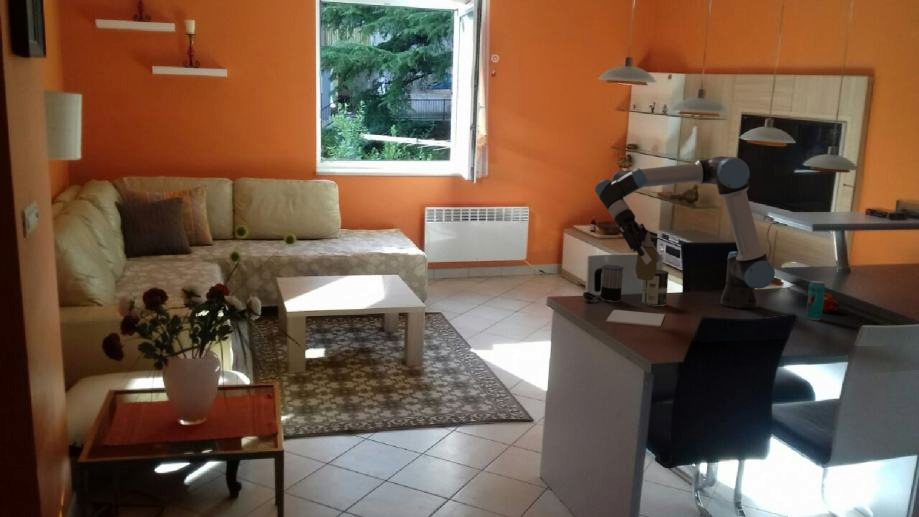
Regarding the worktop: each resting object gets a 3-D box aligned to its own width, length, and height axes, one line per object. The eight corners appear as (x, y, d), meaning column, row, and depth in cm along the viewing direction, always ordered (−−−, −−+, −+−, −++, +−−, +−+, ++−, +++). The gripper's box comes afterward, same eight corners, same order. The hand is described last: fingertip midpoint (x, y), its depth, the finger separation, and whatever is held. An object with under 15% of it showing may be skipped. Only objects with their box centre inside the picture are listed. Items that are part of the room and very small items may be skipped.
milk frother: (625, 300, 347) (627, 266, 345) (610, 306, 335) (611, 271, 332) (595, 296, 355) (596, 262, 353) (578, 301, 342) (580, 267, 340)
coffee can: (663, 302, 346) (665, 269, 344) (669, 307, 336) (671, 273, 334) (639, 301, 346) (641, 268, 344) (644, 306, 336) (646, 273, 334)
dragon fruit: (814, 311, 342) (835, 321, 331) (803, 300, 338) (824, 311, 327) (826, 295, 341) (848, 305, 331) (816, 284, 338) (837, 294, 327)
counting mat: (664, 315, 319) (664, 314, 319) (660, 327, 301) (660, 325, 301) (613, 311, 326) (613, 309, 326) (606, 321, 307) (606, 320, 307)
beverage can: (802, 317, 321) (806, 280, 319) (814, 316, 324) (817, 280, 321) (813, 321, 316) (817, 283, 314) (825, 320, 318) (828, 282, 316)
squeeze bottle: (656, 278, 312) (659, 232, 310) (655, 281, 305) (659, 234, 302) (634, 276, 314) (638, 230, 312) (633, 280, 307) (637, 233, 304)
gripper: (630, 219, 324) (662, 265, 315) (600, 221, 311) (632, 269, 302) (642, 207, 319) (675, 253, 310) (612, 209, 306) (645, 257, 297)
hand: (654, 261), depth 306 cm, fingers closed on squeeze bottle, 6 cm apart
